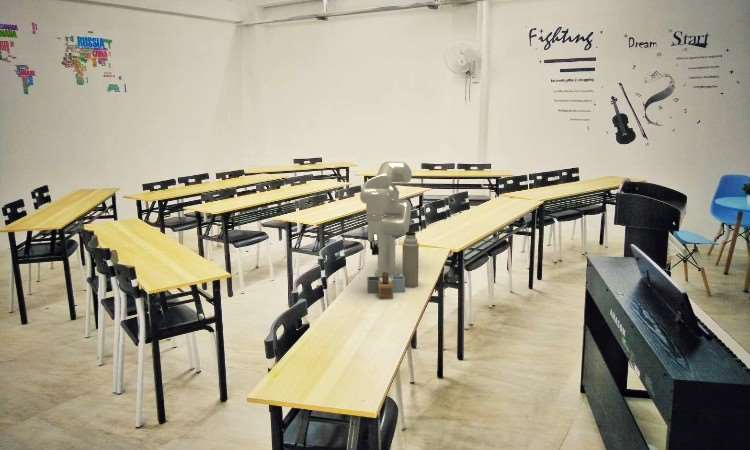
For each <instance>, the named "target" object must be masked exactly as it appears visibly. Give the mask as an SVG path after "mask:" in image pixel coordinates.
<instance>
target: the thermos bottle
mask: <svg viewBox="0 0 750 450" xmlns="http://www.w3.org/2000/svg"><path fill="white" fill-rule="evenodd" d="M419 247H420V246H419V243H418V238H417V237H416V231H408V232H406V235H405V238H403V242H402V274H401V276H404V278H405V288H407V289H411V288H413V289H414V288H417V287H418V286H419V252H420V251H419V250H420V249H419Z"/></svg>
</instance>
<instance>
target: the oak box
mask: <svg viewBox="0 0 750 450" xmlns="http://www.w3.org/2000/svg"><path fill="white" fill-rule="evenodd" d="M377 295H378V299H379V300H393V298H394V293H393V288H378V293H377Z"/></svg>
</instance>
